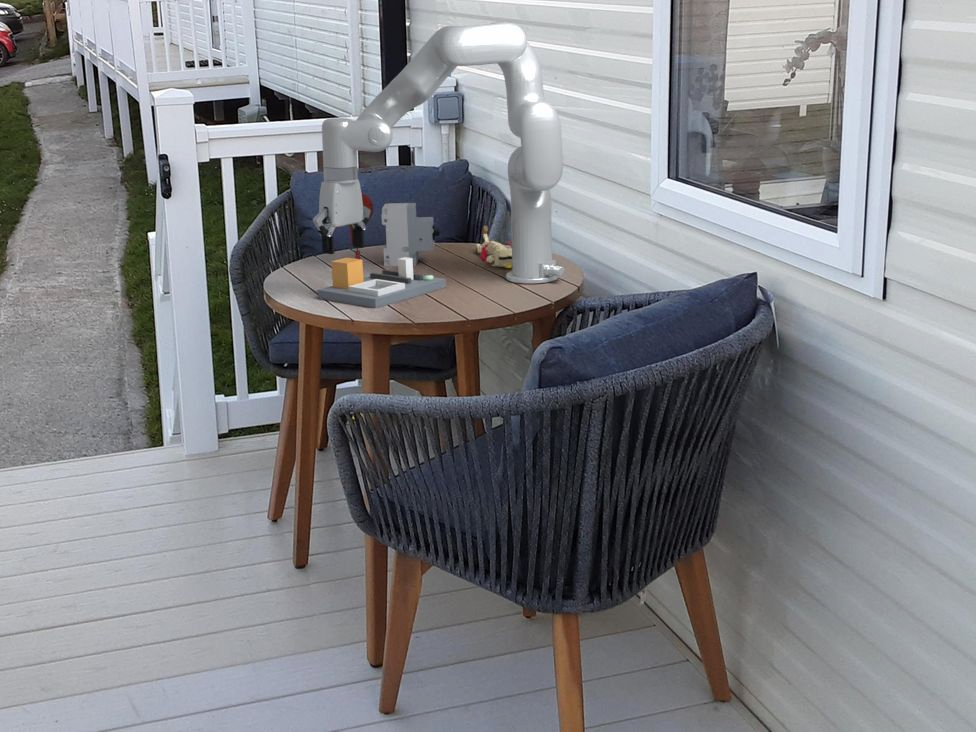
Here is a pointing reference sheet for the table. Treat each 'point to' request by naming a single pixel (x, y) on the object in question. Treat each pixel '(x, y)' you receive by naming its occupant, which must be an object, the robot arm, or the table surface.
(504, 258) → the cat figure
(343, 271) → the lockout cap
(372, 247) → the table surface
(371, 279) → the panel
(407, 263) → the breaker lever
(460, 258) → the table surface
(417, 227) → the circuit breaker
